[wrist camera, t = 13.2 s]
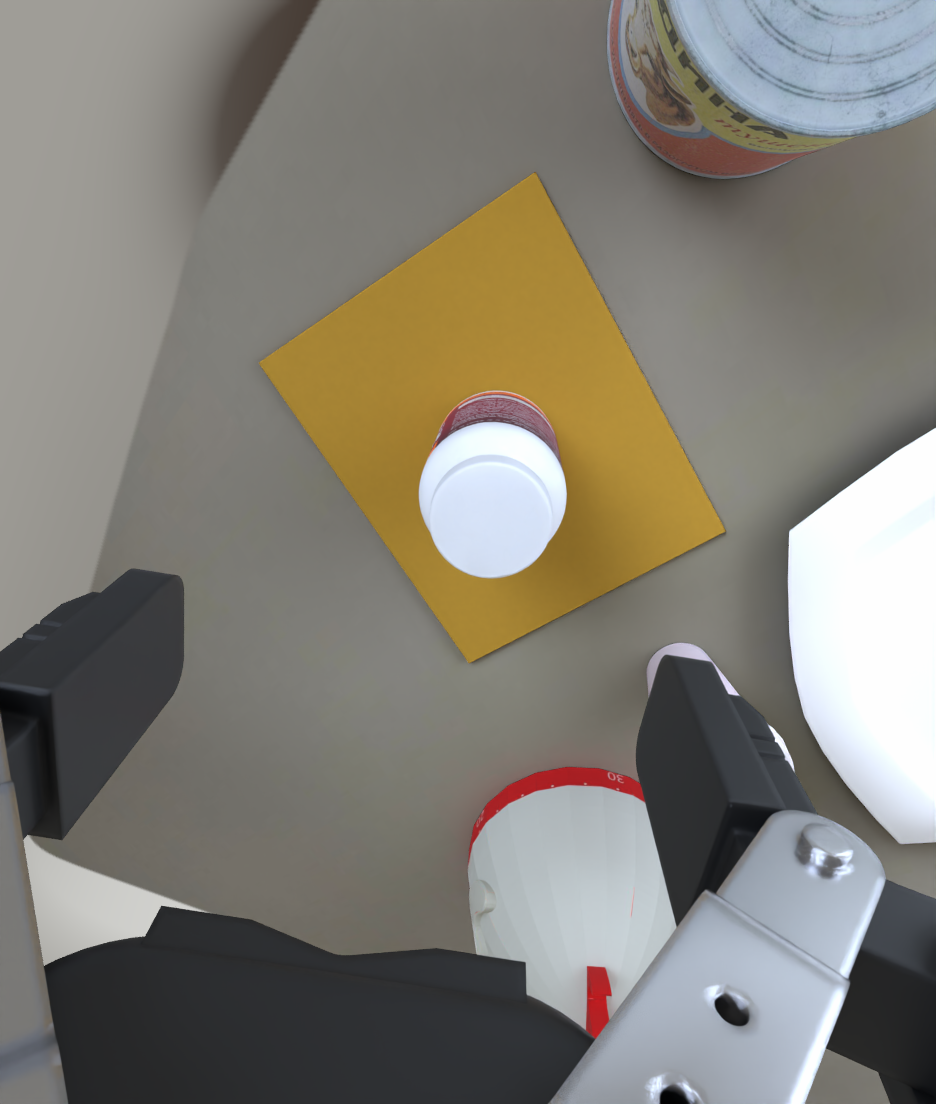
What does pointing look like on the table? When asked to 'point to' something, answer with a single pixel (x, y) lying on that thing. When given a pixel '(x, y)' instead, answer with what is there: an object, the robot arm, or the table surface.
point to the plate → (873, 636)
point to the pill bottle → (493, 485)
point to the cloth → (497, 365)
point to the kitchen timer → (570, 888)
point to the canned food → (767, 76)
